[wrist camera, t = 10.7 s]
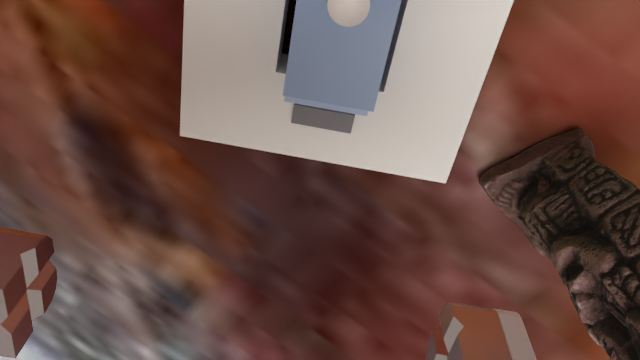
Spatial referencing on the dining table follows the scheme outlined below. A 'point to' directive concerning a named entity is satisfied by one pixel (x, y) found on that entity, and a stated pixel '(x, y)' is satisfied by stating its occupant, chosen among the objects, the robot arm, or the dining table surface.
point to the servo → (339, 53)
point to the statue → (579, 231)
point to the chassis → (329, 125)
